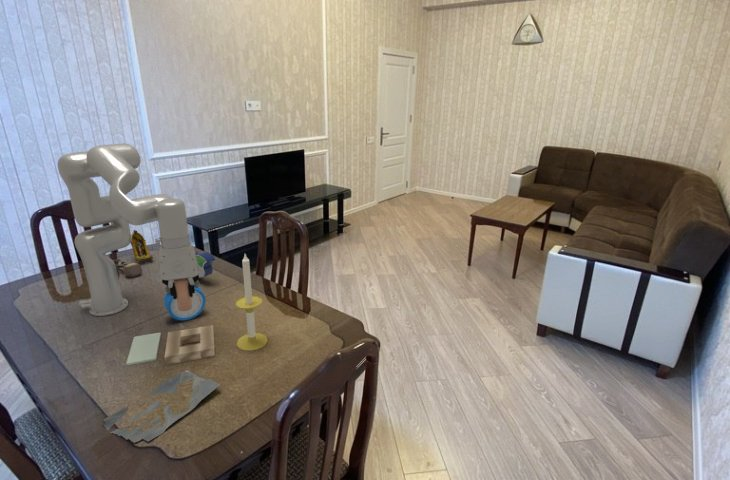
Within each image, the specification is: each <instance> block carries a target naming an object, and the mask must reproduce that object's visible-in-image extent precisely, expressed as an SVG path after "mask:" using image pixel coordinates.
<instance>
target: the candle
mask: <svg viewBox="0 0 730 480" xmlns="http://www.w3.org/2000/svg"><path fill="white" fill-rule="evenodd" d="M241 261H242V273H243V274H242V276H243V285H244V286H243V287H244V296H242V297H240V298H238V299H236V301H235V306H236V308H238V309H241V310H245V314H246V315H245V316H246V317H245V318H246V328H247V329H246V330H247V334H244V335H242V336H241V337H240V338H238V340H237V341H236V346H237V348H239V349H240V350H242V351H246V352H254V351H257V350H260V349H262V348H263V347H265V346H266V345H267V344H268V341H269V340H268V337H267V336H266V335H265V334H264V333H260V332H256V322H255V308H258V307H260V306H261V305H262V303H263V302H264V301H263V298H262V297H260V296H257V295H253V292H252V291H253V290H252V278H251V277H252V276H251V266H250V264H251V263H250V259H249V258H248V257H247V254H246V253H244V256H243V259H242V260H241Z"/></svg>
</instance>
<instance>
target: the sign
mask: <svg viewBox="0 0 730 480" xmlns="http://www.w3.org/2000/svg"><path fill="white" fill-rule="evenodd" d="M195 254H196V259H197V264H198V265H199V266H200V267H201V268H202V269H203V270H204V271H205V274H204V275H203V276H202V277H200V278H199V279H201V278H205V277H207V276H209V275H210V276H211V275H212V274H213V270H214V269H213V265H212V264H213V262H214V261H216V258H215V256H214V255H212V253H210V252H208V251H202V252H198V251H195ZM198 273H199V272H198Z"/></svg>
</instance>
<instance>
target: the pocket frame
mask: <svg viewBox="0 0 730 480" xmlns="http://www.w3.org/2000/svg"><path fill="white" fill-rule="evenodd" d="M197 342H199V343H197ZM192 343H195V344H192ZM185 344H188V345H185ZM215 350H216V349H215V332H214V325H213V324H210V325H206V326H199V327H192V328H188V329H187V328H186V329H181V330H174V331H168V332H167V338H166V344H165V353H164V362H165V366H169V365H174V364H181V363H185V362H190V361H196V360H201V359H207V358H213V357H215V356H216V355H215V354H216V353H215Z"/></svg>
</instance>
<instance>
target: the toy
mask: <svg viewBox="0 0 730 480" xmlns="http://www.w3.org/2000/svg"><path fill="white" fill-rule="evenodd" d="M113 261H114V263H115V265H117V269H118V271H121V272H123V274H124V275H125V276H126V277H127V278H128V277H129V278H135V277H137V276H140V275H142V273H143V267H142V266H141V264H140V263H137V262H132V263H127V262H126V261H121V259H116V260H113Z"/></svg>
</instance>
